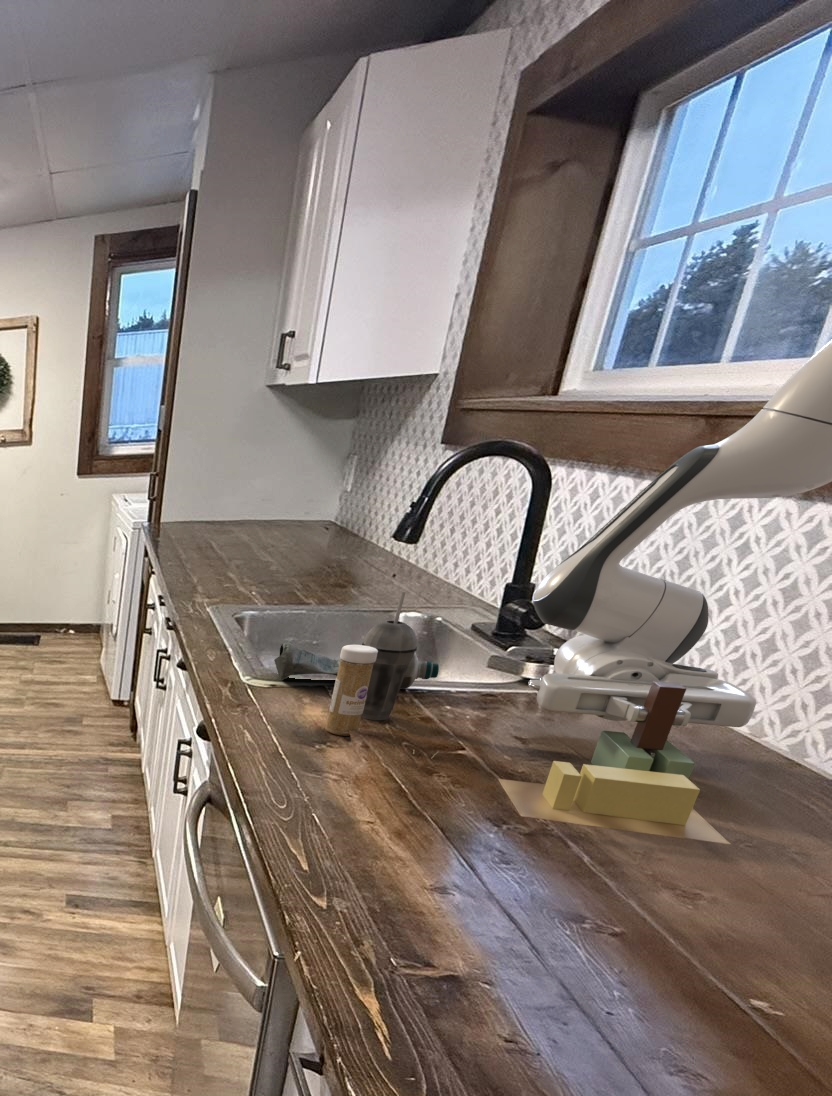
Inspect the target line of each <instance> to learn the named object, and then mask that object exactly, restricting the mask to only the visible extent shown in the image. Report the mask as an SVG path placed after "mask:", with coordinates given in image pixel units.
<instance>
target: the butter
mask: <svg viewBox="0 0 832 1096" xmlns="http://www.w3.org/2000/svg"><path fill="white" fill-rule="evenodd" d="M579 774H580V775H581V776H582V777H581V780H580V782H579V785H578V788H577V791H576V794H575V797H574V799H573V800H574V801H575V803H576V804H577V805H578V807H579V808H580V809H581V810H582V812H584V813H592V814H600V815H608V816H615V817H623V818H631V819H639V820H647V821H654V822H662V823H670V824H678V825H686V823H687V820H688V818H689V816H690V813H691V811H692V808H693V809H694V806H695V803H696V801H697V799H698V796H699V794H700V791H701V789H700V788H699V787H698V786H696V784H694V782H693V781H691V780H690V778H689V779H688V778H686V777H685V776H684V775H678V774H669V773H660V772H651V771H642V770H632V769H623V768H614V767H605V766H596V765H593V764H586V763H583V764H582V766H581V770H580V772H579Z"/></svg>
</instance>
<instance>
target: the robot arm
mask: <svg viewBox="0 0 832 1096" xmlns="http://www.w3.org/2000/svg"><path fill="white" fill-rule="evenodd" d="M762 408H763V409H760V411H758V412H757V414H756V415H754V417H753V418H752V419H750V421H748V422H747V423H746V424H745V425H743V426H742V427H741V428H739V429H738V430H737V431H736V432H734V433H732V434H731V435H729V436H728V437H726V438H724V439H722V440H721V441H718V442H717V443H714V444H708V445H700V446H697V447H695V448H693V449H692V450H690V451H688V452H686V453H685V454H684V455H682V456H681V457H680V458H678V459H677V460H676V461H674V462H673V463H672V464H671V465H670V466H668V467H667V468H666V469H665V470H663V471H662V472H661V473H660V474H659V475H657V477H655V478H654V480H652V481H651V482H650V483H649V484H648V485H647V486H645V487H644V488H643V489H642V490H641V491H640V492H639V493H638V494H636V496H635V497H634V498H632V500H630V501H629V502H628V503H627V504H626V505H625V506H624V507H623V508H622V509H620V511H619V512H617V513H616V515H614V516H613V517H612V518H611V519H610V520H609V521H608V522H606V524H604V525H603V526H602V527H601V528H600V529H599V530H598V531H597V532H595V534H594V535H593V536H592V537H590V538H589V539H588V540H587V541H586V542H585V543H584V544H583V545H581V546H580V547H579V548H578V549H577V550H576V551H574V552H573V553H572V554H570V555H569V556H567V557H566V558H565V559H564V560H563V561H561V562H560V563H559V564H558V565H556V567H554V568H553V569H552V570H551V571H550V572H548V574H547V575H546V576H545V577H544V578H543V579H542V580H541V581H540V582H539V584H538V586H537V587H536V589H535V590H534V591H533V594H532V604H533V607H534V610H535V612H536V615H537V617H538V618H539V620H540V621H541V622H542V624H545V625H548V626H552V627H556V628H560V629H564V630H567V631H574V632H578V633H580V634H581V635H578V636H575V637H574V636H573V637H572V638H570V639H568V640H566V642H564V643H563V644H561V645H560V647H559V648H558V649H557V652H556V653H555V656H554V659H553V660H554V661H553V668H554V673H546V674H544V675H543V676H542V678H539V679H530V680H528V682H527V686H528V687H529V688H530V689H531V690H533V691H536V692H537V694H536V702H537V704H538V706H539V708H541V709H543V710H546V711H549V712H559V713H568V714H579V715H580V714H581V715H590V716H591V715H594V716H596V717H598V718H601V719H603V720H608V721H616V722H620V721H622V722H623V721H628V722H633V723H637V722H645V721H646V719H647V716H648V714H649V709H648V708H647V707H645V706H644V704H645V701H646V698H647V696H648V693H649V690H650V688H651V685H652V682H653V681H654V682H668V683H679V684H680V685H682V686H683V687H685V688H686V692H685V694H684V697H683V699H682V702H681V704H680V707H679V709H678V712H677V715H676V717H675V720H674V722H673V725H672V726H677V727H678V726H679V727H687V726H688V725H689V724H695V725H707V726H718V727H730V728H742V727H745V726H747V725H748V723H749V722H750V720H751V719H752V716H753V714H754V711H755V709H756V706H757V700H756V698H754V696H752V695H751V694H750V693H748V692H747V691H745V690H743V689H742V688H740V687H738V686H737V685H735V684H733V683H731V682H729V681H726V680H723V679H718V678H719V673H718V672H717V671H715V670H713V669H707V668H702V667H697V666H689V665H684V664H677V663H676V662H678V661H679V660H680V659H682V658H683V657H684V656H686V654H688V653H689V652H690V651H691V650H692V649H693V648H694V647H695V646H696V644H697V643H698V642H699V641H700V639H701V638H702V637H703V635H704V634H705V632H706V631H707V628H708V625H709V604H708V601H707V598H706V597H705V594H704V593H703V592H702V591H699V590H696V589H693V588H690V587H687V586H684V585H682V584H678V583H676V582H672V581H669V580H666V579H662V578H658V577H655V576H651V575H648V574H646V573H643V572H639V571H637V570H633V569H630V568H627V567H624V566H622V565H620V562H621V561H622V560H623V559H625V557H627V556H628V555H629V554H630V553H632V551H634V550H635V549H636V548H637V547H638V546H639V545H640V544H641V543H642V542H644V540H646V539H647V538H648V537H649V536H651V534H652V533H654V532H655V531H656V530H658V528H659V527H660V526H662V524H664V523H665V522H666V521H667V520H668V519H669V518H671V517H672V516H673V515H674V514H676V513H678V512H679V511H681V510H682V509H685V508H687V507H690V506H692V505H695V504H699V503H703V502H709V501H715V500H716V501H717V500H737V499H738V500H739V499H740V500H741V499H772V498H781V497H788V496H794V495H799V494H803V493H806V492H810V491H812V490H816V489H819V488H821V487H822V486H823V487H824V486H826V485H828V484H829V483H831V482H832V339H831V340H829V341H828V342H827V343H826V344H825V345H823V347H821V348H820V349H819V350H818V351H816V352H815V354H813V355H812V356H811V357H810V358H809V359H808V360H807V361H806V362H804V363H803V364H802V366H800V367H799V368H798V370H796V371H795V372H794V373H793V374H792V376H790V378H788V379H787V381H785V382H784V384H782V386H781V387H780V388H779V389H778V390H777V391H776V392H775V393H774V394H773V395H772V397H771V398H769V400H768V401H767V402H766V404H764V406H763V407H762Z"/></svg>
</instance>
